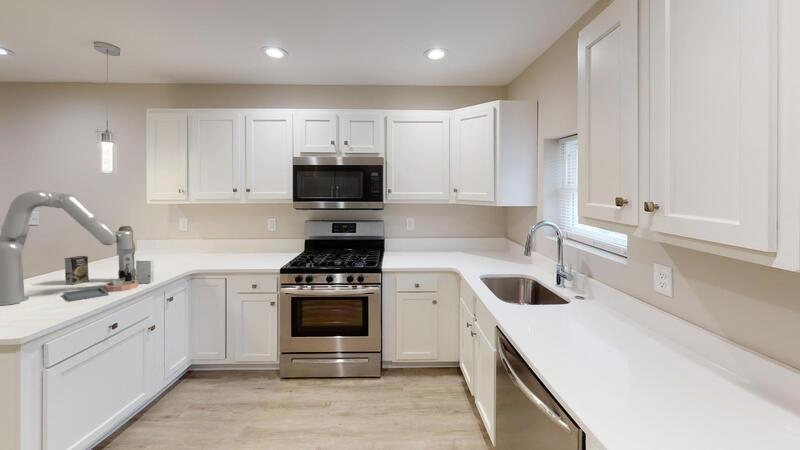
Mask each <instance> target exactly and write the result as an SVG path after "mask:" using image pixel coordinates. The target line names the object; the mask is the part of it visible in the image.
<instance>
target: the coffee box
mask: <svg viewBox="0 0 800 450" xmlns="http://www.w3.org/2000/svg"><path fill="white" fill-rule="evenodd" d="M88 258H89V257H88V255H87V256H86V255H78V256H71V257H64V271H65V272H64V274H65V277H64V278H65V284H66V285H72V286H74V285H79V284H82V283H88V282H89V278H90V277H89V262H88V261H89V260H88Z"/></svg>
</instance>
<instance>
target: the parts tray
mask: <svg viewBox="0 0 800 450" xmlns="http://www.w3.org/2000/svg"><path fill="white" fill-rule="evenodd" d="M107 296H109V291H106V290H105V288H103V287H101V286H99V287H92V288H87V289H85V288H84V289H78V290H72V291H65V292H63V297H64V298H65V299H66V300H67V301H69V302H76V301H81V300H87V299H88V300H89V299H95V298H101V297H107Z"/></svg>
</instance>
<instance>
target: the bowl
mask: <svg viewBox="0 0 800 450" xmlns="http://www.w3.org/2000/svg"><path fill="white" fill-rule="evenodd" d="M138 286H139V284H138V281H136V280H132V284H129V285H123V286H112V281H110V282H107V283H105V284H104V290H105V291H107V292H112V293H115V292H116V293H117V292H118V293H119V292H125V291H132V290H133V289H137V288H138Z"/></svg>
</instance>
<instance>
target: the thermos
mask: <svg viewBox="0 0 800 450" xmlns="http://www.w3.org/2000/svg"><path fill="white" fill-rule="evenodd" d="M118 231H131V232H132V248H133V254H131V255H132V260H133V270H131V273H132V280H136V265H135V252H136V247H135V243H134V231H133V228H132V226H130V225H129V226H127V225H125V226H124V225H123V226H120V227H118ZM126 272H127V271H126ZM117 274H118V279H120V269H119V268H118V272H117Z"/></svg>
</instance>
